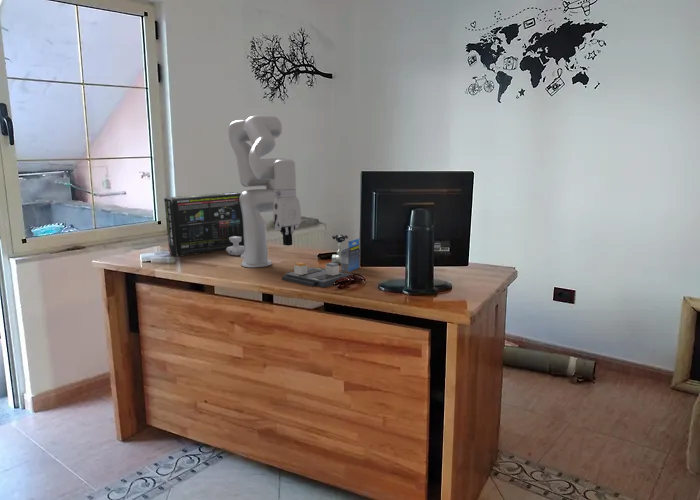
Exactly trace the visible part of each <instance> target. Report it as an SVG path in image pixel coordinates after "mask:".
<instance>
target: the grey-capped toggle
mask: <svg viewBox="0 0 700 500" xmlns="http://www.w3.org/2000/svg"><path fill="white" fill-rule="evenodd" d="M325 269H326V274H328V275H333V276H334V275H338V274H339V272H340V265H339V264H338V263H332V261H331V262H328V263H326V265H325Z"/></svg>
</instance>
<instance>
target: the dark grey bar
mask: <svg viewBox="0 0 700 500" xmlns="http://www.w3.org/2000/svg"><path fill="white" fill-rule="evenodd" d="M281 279H282V281H285V280H286V281H285V282H289V283H290V282H291V283H295V284H299V285H304V286H308V287H312V288H313V287H315V282H310V281H306V280H301V279H296V278H292V277H287V276H285V275H282V276H281Z"/></svg>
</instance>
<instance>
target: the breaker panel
mask: <svg viewBox="0 0 700 500" xmlns="http://www.w3.org/2000/svg"><path fill="white" fill-rule="evenodd" d="M319 268H320V267H317V268H316V267H307V274H304V275H299V274H294V271H291V272H287V273H285V275H284V276H287V277H292V278H296V279H301V280H306V281H310V282H315V286H316V287H320V288H327V287H330V286H333V284H334V282H335V281H336V280H338V279H340V278H343V277H347V276H350V275H349V274H350V273H349V274H344V273H345V272H344V273H339V274H338V275H334V276H333V275H328V274H326V270H324V269H325V268H323V269H319ZM334 285H335V284H334ZM315 286H314V287H315Z"/></svg>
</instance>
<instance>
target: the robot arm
mask: <svg viewBox="0 0 700 500" xmlns="http://www.w3.org/2000/svg"><path fill="white" fill-rule="evenodd" d="M227 130H228V131H227V134H228V135H227V136H228V140H229V143H230V146H231V148H232V150H233V152H234V155H235V161H236V166H237V171H238V176H239V182H240V184H241V185H242V187H245V188H253V189H247V190H244V191H242V192H241V195H240V197H239V202H240V207H241V212H242V219H243V234H244V253H243V254H241V255H240V258H241V259H243V261H241V264H240V265H241V267H244V268H265V267H268V266H271V265H272V260H270V259H268V258H269V257H268V240H267V239H268V236H267V223H266V219H264V217H263V216H262V215H261V213H267V212H272V221H273V225H274V230H275V231H278V232H280V233H281V235H282V244H283V246H287V247H288V246H289V247H290V246H292V245H293V234H294V230H296V229H297V228H299V227H300V225H301V223H302V215H301V214H302V212H301V211H302V210H301V204H300V200H299V197H297V179H296V161H294V160H293V159H291V158H289V159H288V158H282V157H281V158H262V157H264V156H266V155H269V154H270V153H271V152H272V151H273V150H274V149H275V147H276V140H275V139H277V138H279V137H280V136H281V135H282V133H283V126H282V122H281V120H280V119H279V118H278V117H277V116H275V115H252V116H249V117H248V118H247V119H238V120H234V121H232V122H231V123H229V126H228V129H227ZM248 142H250V143H251V144H249V143H248ZM260 187H261V188H260ZM262 187H264V188H262ZM254 188H256V189H254Z"/></svg>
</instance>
